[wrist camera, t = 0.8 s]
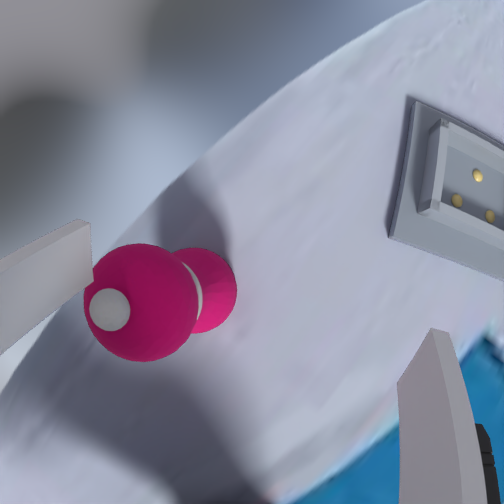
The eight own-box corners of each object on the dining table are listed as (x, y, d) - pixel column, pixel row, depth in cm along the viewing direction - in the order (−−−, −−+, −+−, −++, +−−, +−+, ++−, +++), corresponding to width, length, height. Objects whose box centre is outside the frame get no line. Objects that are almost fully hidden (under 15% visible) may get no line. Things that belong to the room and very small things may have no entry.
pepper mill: (198, 236, 32) (90, 184, 12) (256, 281, 31) (227, 300, 11) (156, 293, 32) (15, 316, 12) (211, 338, 31) (124, 430, 11)
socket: (509, 283, 29) (533, 284, 24) (388, 237, 30) (405, 232, 26) (522, 164, 30) (542, 155, 25) (411, 106, 31) (426, 88, 26)
